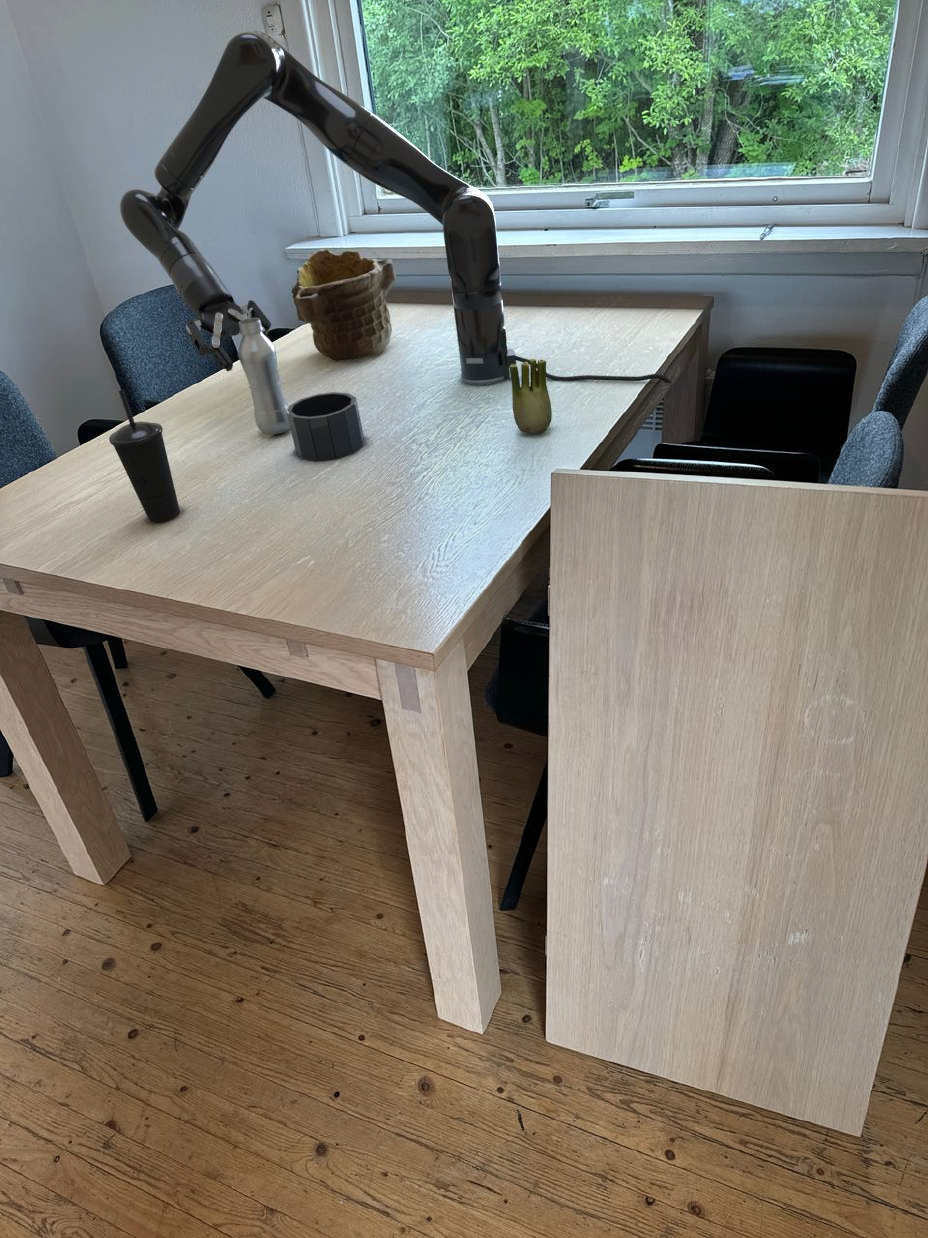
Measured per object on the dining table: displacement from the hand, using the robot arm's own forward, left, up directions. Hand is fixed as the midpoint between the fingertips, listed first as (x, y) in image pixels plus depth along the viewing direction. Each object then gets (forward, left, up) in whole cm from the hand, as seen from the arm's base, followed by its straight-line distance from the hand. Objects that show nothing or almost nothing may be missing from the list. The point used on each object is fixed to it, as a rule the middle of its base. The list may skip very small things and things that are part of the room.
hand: (251, 360), depth 154 cm
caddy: (-13, +12, -13) cm, 22 cm away
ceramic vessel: (-12, -40, -13) cm, 44 cm away
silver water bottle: (-2, +2, -13) cm, 13 cm away
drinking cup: (+11, +32, -13) cm, 36 cm away
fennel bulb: (-48, +16, -13) cm, 52 cm away
